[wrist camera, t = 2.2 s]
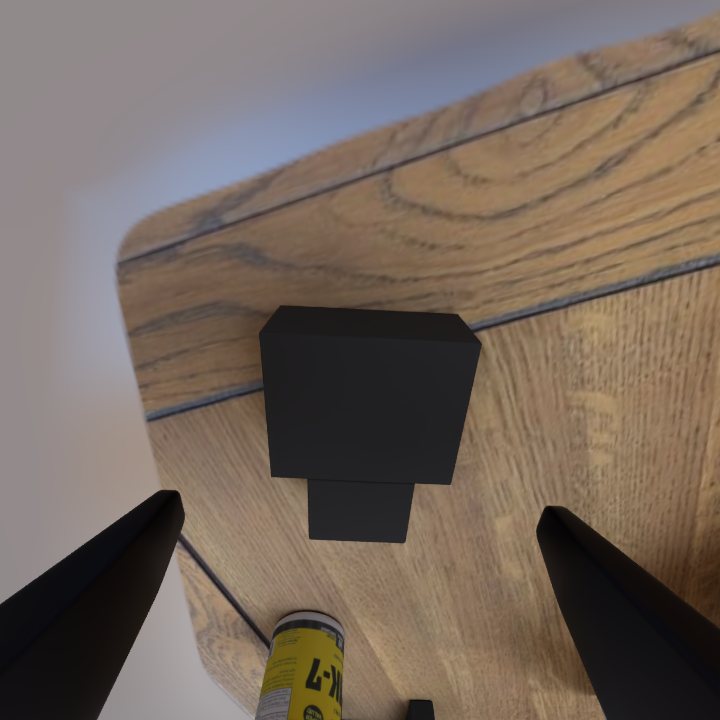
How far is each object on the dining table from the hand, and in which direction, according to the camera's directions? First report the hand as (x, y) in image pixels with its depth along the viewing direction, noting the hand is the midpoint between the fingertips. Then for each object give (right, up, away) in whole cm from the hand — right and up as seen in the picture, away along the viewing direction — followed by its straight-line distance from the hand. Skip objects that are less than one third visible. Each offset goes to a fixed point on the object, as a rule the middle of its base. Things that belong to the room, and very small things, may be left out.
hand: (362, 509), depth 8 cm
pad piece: (0, +1, +7) cm, 7 cm away
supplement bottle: (-4, -14, +15) cm, 21 cm away
